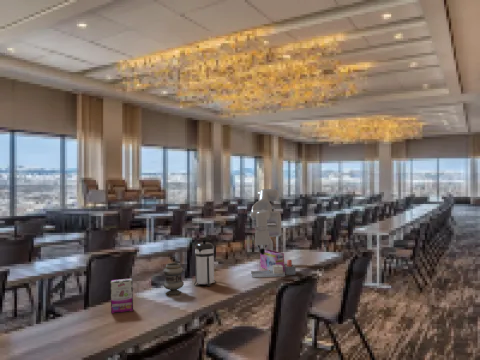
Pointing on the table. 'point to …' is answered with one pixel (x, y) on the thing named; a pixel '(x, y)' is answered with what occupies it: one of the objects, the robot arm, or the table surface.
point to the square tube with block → (290, 270)
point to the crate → (277, 269)
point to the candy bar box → (121, 295)
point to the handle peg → (289, 262)
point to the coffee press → (204, 263)
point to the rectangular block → (267, 274)
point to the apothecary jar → (173, 278)
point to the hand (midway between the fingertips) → (262, 254)
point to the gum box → (271, 259)
